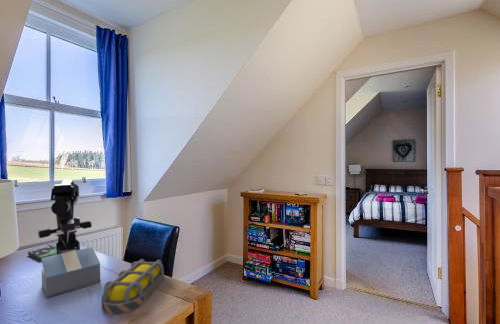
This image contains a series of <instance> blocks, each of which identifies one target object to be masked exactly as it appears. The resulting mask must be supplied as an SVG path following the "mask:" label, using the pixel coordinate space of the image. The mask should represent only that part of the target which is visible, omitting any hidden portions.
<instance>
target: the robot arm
mask: <svg viewBox="0 0 500 324" xmlns="http://www.w3.org/2000/svg"><path fill="white" fill-rule="evenodd" d="M79 197H80V187H79V185H78V184H76V183H75V181H74V180H73V179H68V180H64V179H63V180H62V181H61V183H59V184H54V185H53V187H52V188H51V195H50V201H51V202H52V201H54V202H53V204H51V207H50V209H51V212H52V213H53V214H54V215H55V219H56V228H53V229H51V228H49V227H48V228H44V229H39V230H38V231H37V237H38V238H39V239H43V238H47V237H50V236H51V235H52V234H54V235H55V237H57V241H56V243H55V245H56V246H55V248H56V250H57V255H58V254H61V253H66V252H71V251H76V250H81V244H80V240H79V239H78V238H77V234H76V233H77V232H78V231H77V229H90V228H92V222H91V221H89V220H85V221H80V220H81V219H80V217H79V216H78V217H74V211H75V205H76V203H77V202H78V199H79Z"/></svg>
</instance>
